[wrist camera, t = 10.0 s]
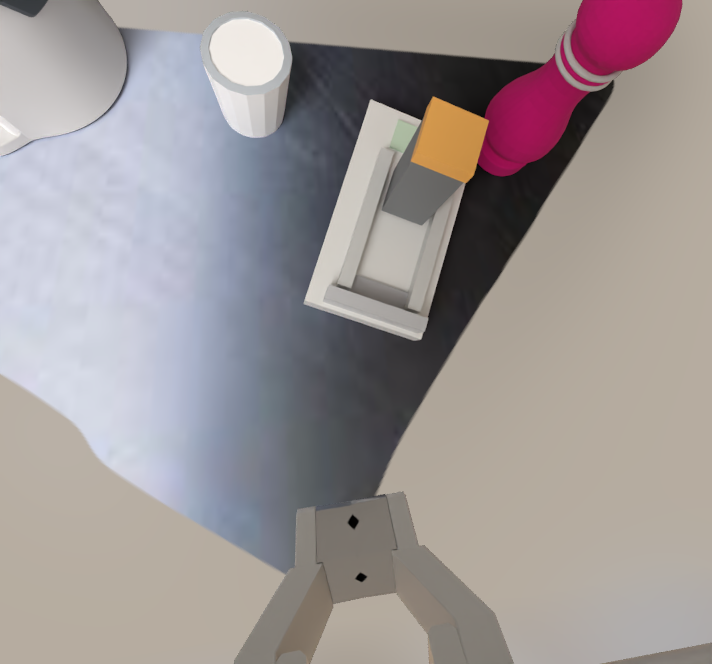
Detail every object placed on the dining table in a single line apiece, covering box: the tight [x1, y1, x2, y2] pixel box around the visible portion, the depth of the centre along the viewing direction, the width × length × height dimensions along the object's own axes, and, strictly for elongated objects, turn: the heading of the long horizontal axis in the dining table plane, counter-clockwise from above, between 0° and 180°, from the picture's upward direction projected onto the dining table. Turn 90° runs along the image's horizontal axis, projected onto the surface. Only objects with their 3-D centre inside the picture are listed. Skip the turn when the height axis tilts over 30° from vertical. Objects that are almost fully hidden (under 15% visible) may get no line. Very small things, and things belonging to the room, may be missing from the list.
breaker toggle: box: [381, 97, 489, 226], centre depth 32 cm, size 4×4×10 cm
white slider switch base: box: [304, 100, 465, 341], centre depth 37 cm, size 11×20×4 cm, turn 163°
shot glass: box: [200, 11, 292, 138], centre depth 34 cm, size 7×7×7 cm
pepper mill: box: [477, 0, 682, 176], centre depth 32 cm, size 7×7×20 cm
